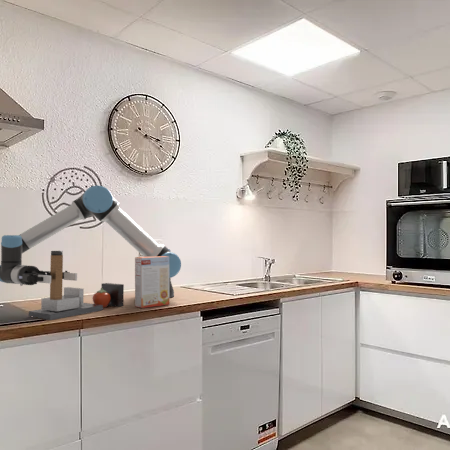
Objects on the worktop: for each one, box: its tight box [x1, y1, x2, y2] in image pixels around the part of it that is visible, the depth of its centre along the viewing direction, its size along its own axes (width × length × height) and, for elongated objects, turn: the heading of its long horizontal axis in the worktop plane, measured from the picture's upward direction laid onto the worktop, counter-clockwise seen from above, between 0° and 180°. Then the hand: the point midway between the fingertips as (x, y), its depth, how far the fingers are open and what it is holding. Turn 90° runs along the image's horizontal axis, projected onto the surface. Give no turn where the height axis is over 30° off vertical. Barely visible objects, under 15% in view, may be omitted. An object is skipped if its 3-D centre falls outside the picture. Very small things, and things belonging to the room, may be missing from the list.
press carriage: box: [40, 250, 85, 311], centre depth 164 cm, size 12×9×22 cm
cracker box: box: [134, 256, 170, 309], centre depth 185 cm, size 14×6×21 cm, turn 131°
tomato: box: [91, 288, 111, 309], centre depth 181 cm, size 7×7×8 cm
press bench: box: [28, 282, 125, 321], centre depth 172 cm, size 37×12×9 cm, turn 149°
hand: (63, 278), depth 160 cm, fingers open, 11 cm apart
